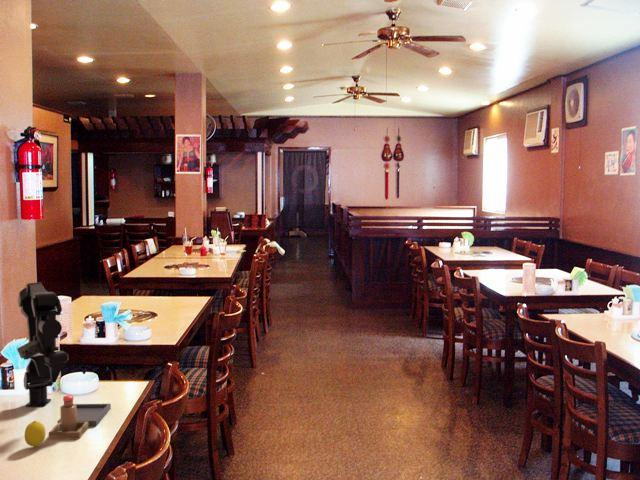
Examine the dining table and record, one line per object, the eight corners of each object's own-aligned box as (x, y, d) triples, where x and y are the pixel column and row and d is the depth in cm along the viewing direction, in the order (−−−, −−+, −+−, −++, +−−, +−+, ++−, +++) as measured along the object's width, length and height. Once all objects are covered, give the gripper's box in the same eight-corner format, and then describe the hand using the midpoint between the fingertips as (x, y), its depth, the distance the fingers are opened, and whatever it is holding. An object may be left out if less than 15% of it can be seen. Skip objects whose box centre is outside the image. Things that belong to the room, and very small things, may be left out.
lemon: (37, 452, 178) (37, 425, 177) (20, 450, 179) (19, 423, 178) (49, 444, 183) (49, 418, 183) (33, 443, 184) (32, 416, 184)
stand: (59, 428, 196) (59, 421, 196) (88, 427, 196) (88, 421, 196) (48, 439, 187) (48, 432, 187) (79, 438, 188) (79, 432, 187)
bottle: (64, 430, 194) (63, 394, 193) (79, 430, 194) (78, 394, 193) (58, 436, 189) (57, 399, 188) (74, 436, 190) (73, 399, 189)
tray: (74, 409, 213) (74, 404, 213) (110, 408, 213) (110, 403, 213) (57, 426, 197) (57, 421, 197) (96, 426, 198) (96, 420, 197)
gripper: (8, 331, 202) (9, 379, 203) (33, 340, 189) (34, 391, 190) (42, 326, 210) (44, 372, 211) (68, 334, 197) (70, 383, 198)
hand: (47, 379), depth 202 cm, fingers open, 9 cm apart
